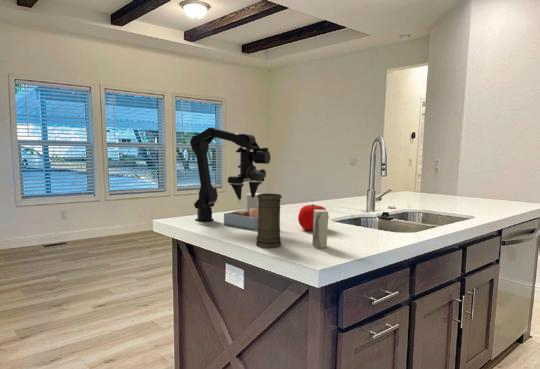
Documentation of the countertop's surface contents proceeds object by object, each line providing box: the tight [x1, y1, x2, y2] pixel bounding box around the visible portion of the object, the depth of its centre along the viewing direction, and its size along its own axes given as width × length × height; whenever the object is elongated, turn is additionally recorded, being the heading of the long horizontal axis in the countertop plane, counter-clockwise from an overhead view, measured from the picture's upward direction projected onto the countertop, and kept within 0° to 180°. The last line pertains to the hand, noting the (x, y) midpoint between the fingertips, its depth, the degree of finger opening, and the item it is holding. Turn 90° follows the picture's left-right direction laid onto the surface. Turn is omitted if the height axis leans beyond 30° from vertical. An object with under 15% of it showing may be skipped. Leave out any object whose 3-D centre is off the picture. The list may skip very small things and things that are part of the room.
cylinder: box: [250, 208, 258, 218], centre depth 166 cm, size 5×5×7 cm
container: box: [255, 193, 282, 249], centre depth 134 cm, size 9×9×18 cm
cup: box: [245, 192, 262, 211], centre depth 185 cm, size 8×8×12 cm
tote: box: [223, 209, 258, 231], centre depth 169 cm, size 17×13×5 cm
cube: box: [233, 209, 249, 217], centre depth 171 cm, size 5×5×5 cm
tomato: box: [297, 203, 330, 232], centre depth 161 cm, size 12×13×11 cm
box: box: [311, 209, 329, 249], centre depth 133 cm, size 5×4×13 cm
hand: (246, 198), depth 167 cm, fingers open, 9 cm apart
